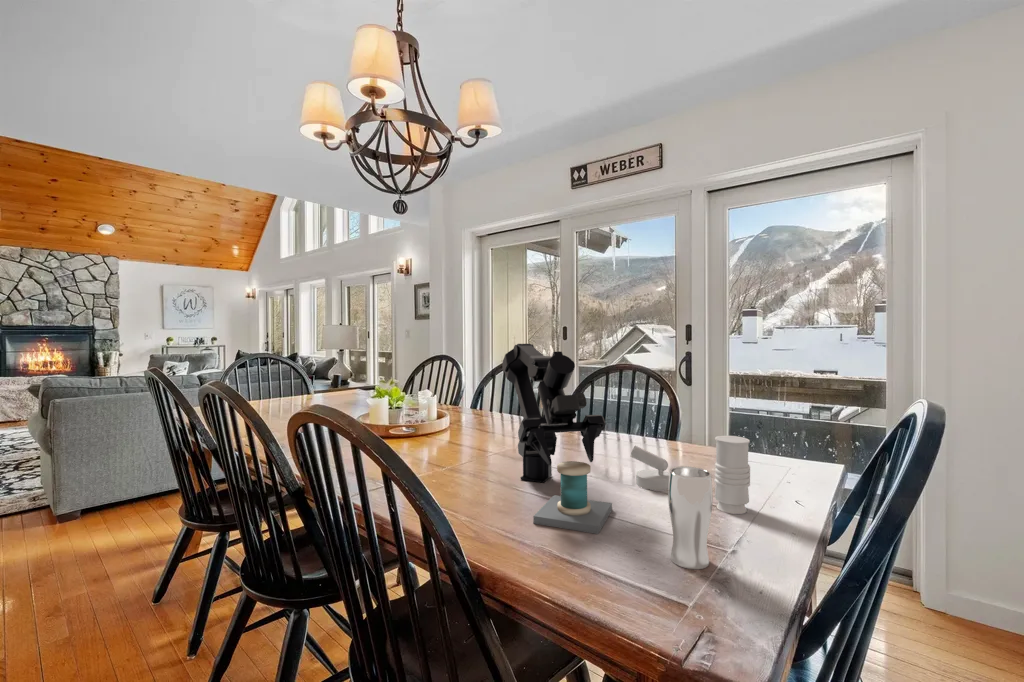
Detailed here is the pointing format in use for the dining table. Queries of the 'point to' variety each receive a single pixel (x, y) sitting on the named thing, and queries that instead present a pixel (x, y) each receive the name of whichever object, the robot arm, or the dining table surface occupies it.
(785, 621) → the dining table surface
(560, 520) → the slate board
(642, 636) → the dining table surface
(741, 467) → the white ribbed cylinder
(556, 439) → the robot arm
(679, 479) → the metal tumbler
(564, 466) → the cord spool
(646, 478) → the white spotlight lamp
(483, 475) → the dining table surface
